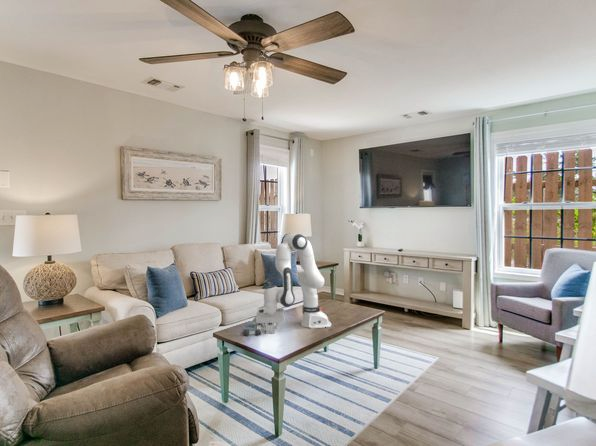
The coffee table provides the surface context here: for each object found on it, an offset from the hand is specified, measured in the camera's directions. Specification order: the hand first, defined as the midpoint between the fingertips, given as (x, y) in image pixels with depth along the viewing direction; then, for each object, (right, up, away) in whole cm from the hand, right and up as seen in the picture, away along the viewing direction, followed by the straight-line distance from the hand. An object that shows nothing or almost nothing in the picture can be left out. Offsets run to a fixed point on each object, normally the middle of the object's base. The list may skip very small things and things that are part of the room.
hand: (270, 328), depth 231 cm
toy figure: (-7, -3, +15) cm, 17 cm away
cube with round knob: (0, -3, 0) cm, 3 cm away
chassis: (-12, -3, -1) cm, 12 cm away
